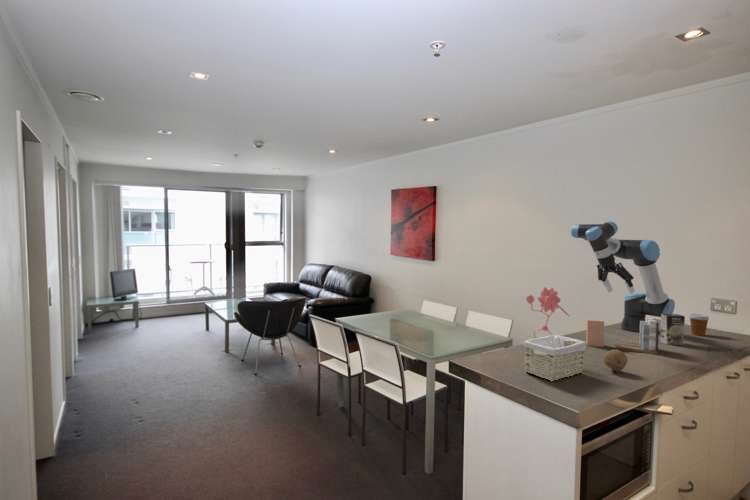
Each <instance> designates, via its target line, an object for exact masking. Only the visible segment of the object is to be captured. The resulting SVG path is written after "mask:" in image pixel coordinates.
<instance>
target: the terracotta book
mask: <svg viewBox="0 0 750 500" xmlns="http://www.w3.org/2000/svg"><path fill="white" fill-rule="evenodd" d="M585 342H586V347H588V346H589V347H597V348H604V345H605V320H604V319H596V318H586V340H585Z"/></svg>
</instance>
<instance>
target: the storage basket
mask: <svg viewBox="0 0 750 500" xmlns="http://www.w3.org/2000/svg"><path fill="white" fill-rule="evenodd" d="M565 344H566V345H565ZM586 350H587V344H586V340H582V339H581V340H580V339H577V338H571V337H567V336H563V335H559V334H555V335H553V334H552V335H551V334H550V335H547V336H542V337H534V338H530V339H527V340H525V341H523V353H524V368H525V369H526V370H529V371H531V372H534V373H536V374H539V375H541V376H544V377H546V378H550V379H552V380H554V379H559V378H564V377H568V378H570V377H569V376H572V377H574V376H573V375H575V374H577V375H580V374H579V373H581V374H582V373H583V371H584V369H583V368H584V363H585V361H584V360H585V355H586ZM525 369H524V370H525ZM575 376H576V375H575ZM564 379H565V378H564Z"/></svg>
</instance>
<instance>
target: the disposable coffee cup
mask: <svg viewBox="0 0 750 500" xmlns="http://www.w3.org/2000/svg"><path fill="white" fill-rule="evenodd" d="M688 317H689V321H690V330H691V335H693V336H696V337H706V332H707V327H708V322H709V319H710V318H709V316H708V315H707V314H700V313H690V314H689V316H688Z"/></svg>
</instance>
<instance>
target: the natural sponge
mask: <svg viewBox="0 0 750 500" xmlns="http://www.w3.org/2000/svg"><path fill="white" fill-rule="evenodd" d="M603 360H604V361H603V362H604V365H606V367H608V368H609V369H610V370H611V371H613V372H615V371H616V372H615V373H619V372H621V371H622V370H623V369H624V368H625V367H626V365H627V363H628V357H627V355H626V354H625V353H624V352H623V351H622V350H617V349H611V350H609V351H607V352H606V353H605V355H604V356H603Z"/></svg>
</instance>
